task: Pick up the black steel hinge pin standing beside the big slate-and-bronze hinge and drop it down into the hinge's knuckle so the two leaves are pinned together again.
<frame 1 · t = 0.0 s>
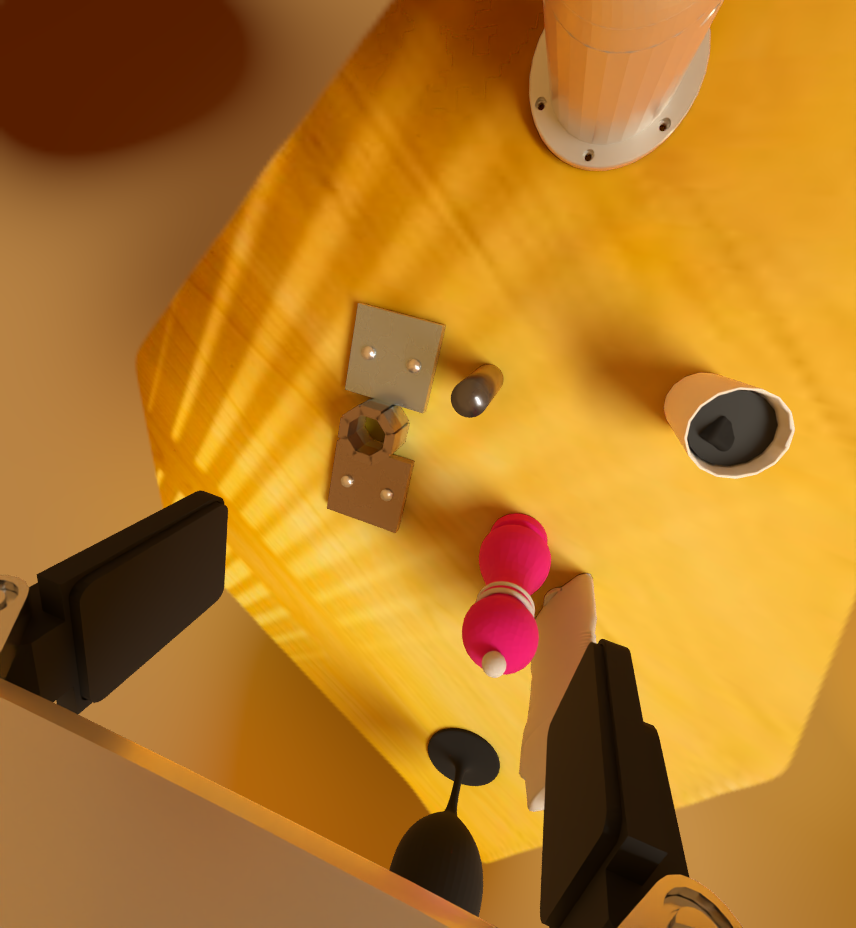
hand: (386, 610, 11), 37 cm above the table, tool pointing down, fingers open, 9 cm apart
wine glass: (463, 754, 64), on the table
beige upright panel: (562, 601, 51), on the table
paper coffee cup: (698, 404, 41), on the table
hinge: (382, 424, 50), on the table
hinge pin: (488, 379, 45), on the table
pepper mill: (518, 537, 50), on the table
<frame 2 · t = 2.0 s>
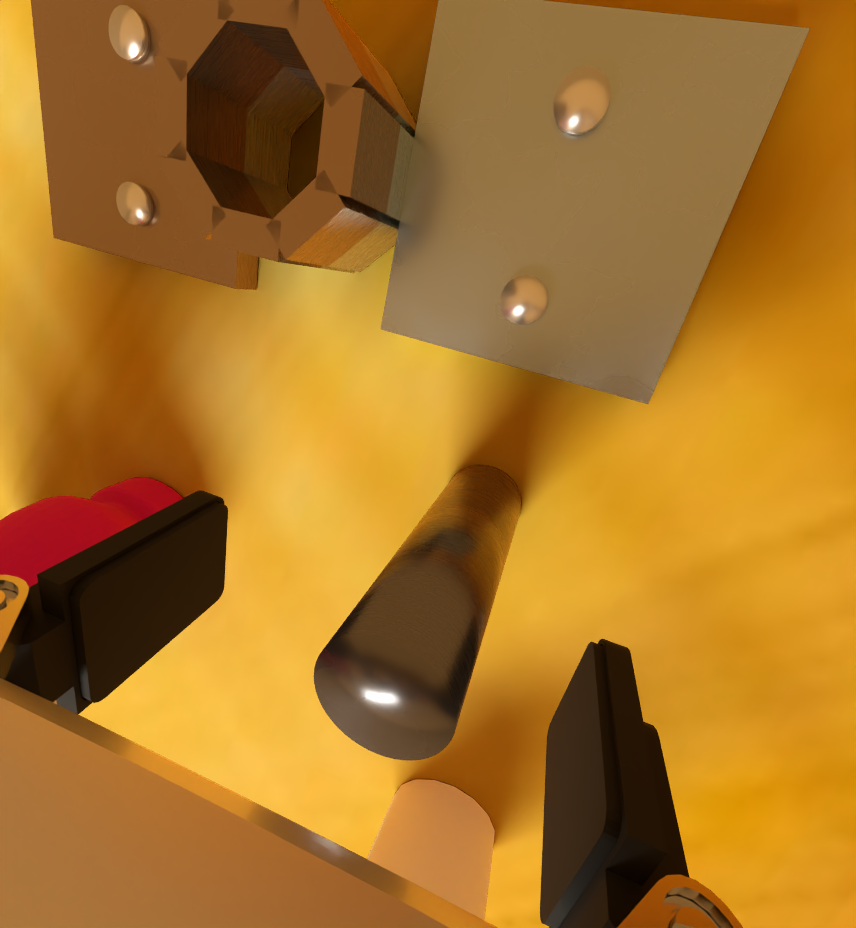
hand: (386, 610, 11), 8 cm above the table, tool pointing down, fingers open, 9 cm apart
paper coffee cup: (443, 816, 25), on the table
hinge: (339, 173, 15), on the table
hinge pin: (482, 500, 18), on the table
pepper mill: (163, 528, 24), on the table
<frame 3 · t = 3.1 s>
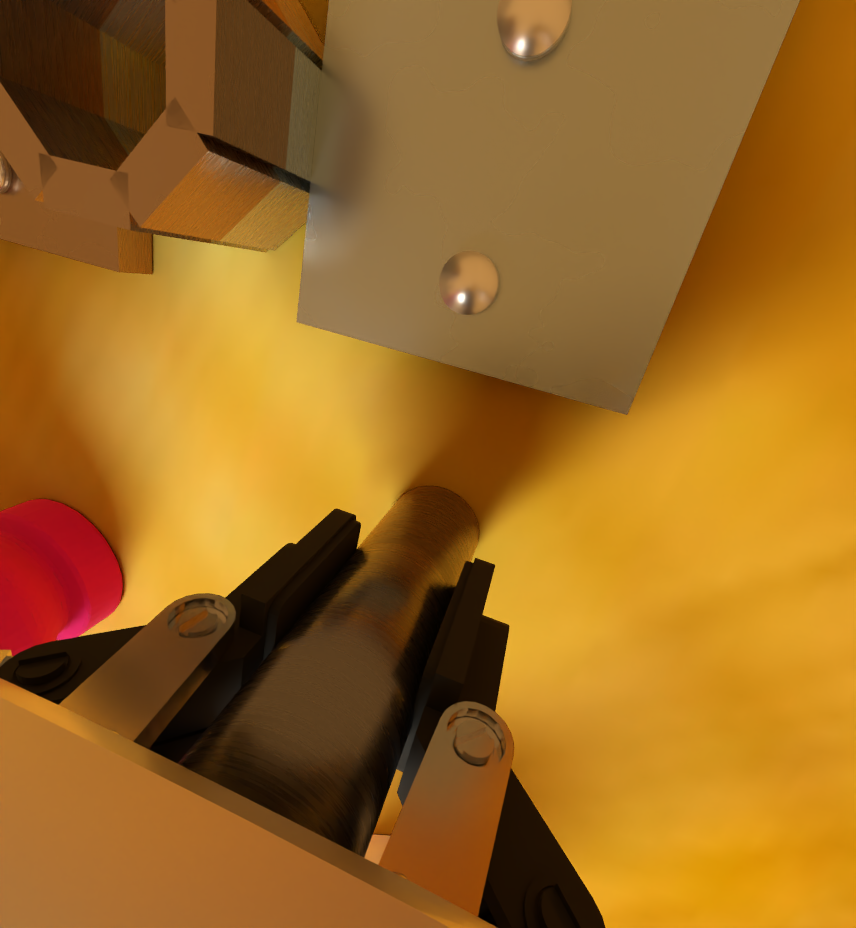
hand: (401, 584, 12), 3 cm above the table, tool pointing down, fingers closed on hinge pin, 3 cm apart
paper coffee cup: (405, 872, 22), on the table
hinge: (239, 124, 12), on the table
hinge pin: (433, 528, 15), on the table, touching gripper
pepper mill: (74, 557, 21), on the table
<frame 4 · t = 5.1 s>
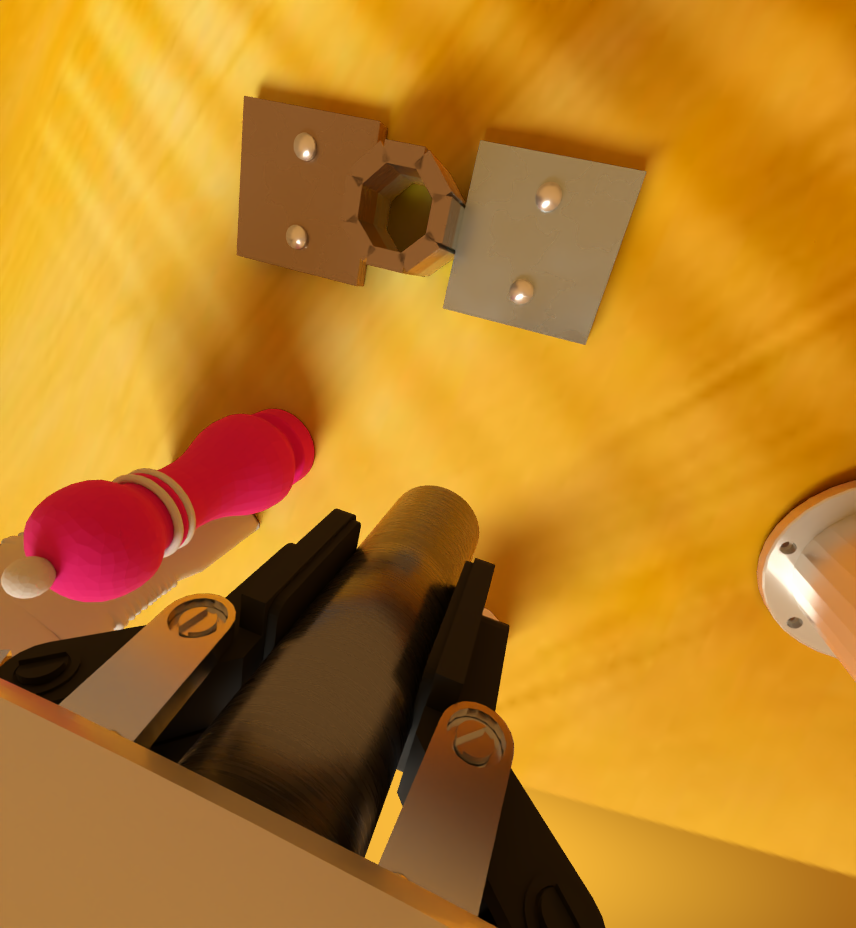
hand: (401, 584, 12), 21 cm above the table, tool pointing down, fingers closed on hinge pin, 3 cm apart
beige upright panel: (216, 496, 41), on the table
hinge: (418, 222, 28), on the table
hinge pin: (433, 527, 15), point 18 cm above the table, touching gripper
pepper mill: (282, 445, 37), on the table
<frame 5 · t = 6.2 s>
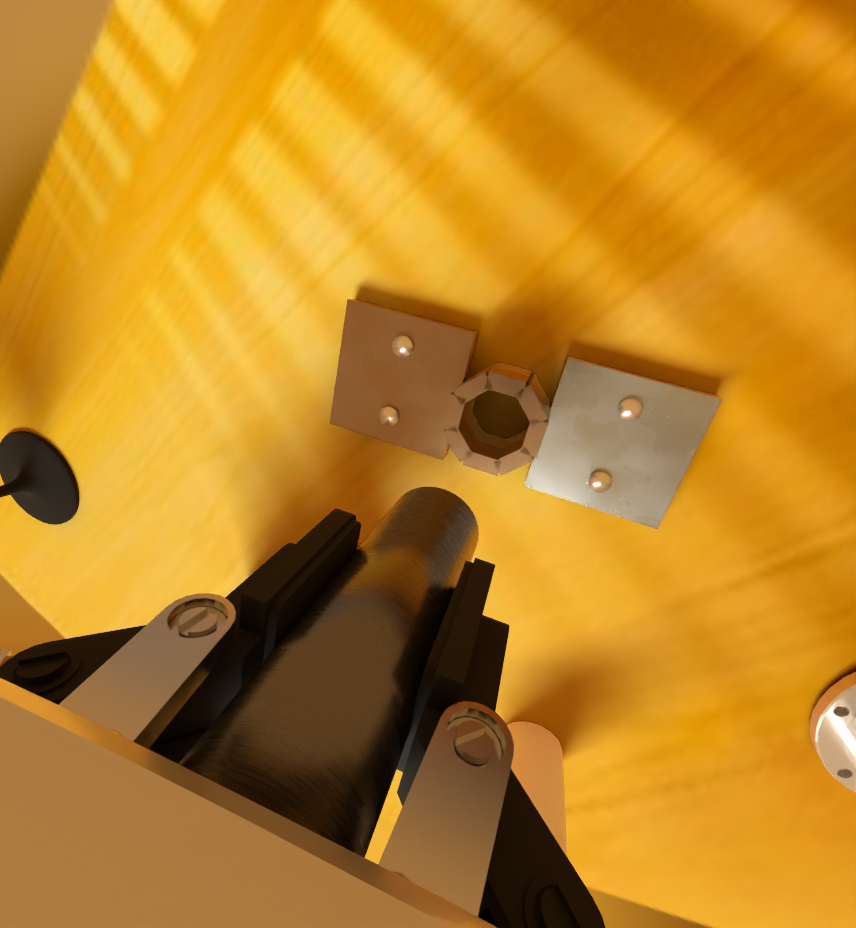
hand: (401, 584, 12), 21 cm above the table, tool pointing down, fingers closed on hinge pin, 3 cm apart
wine glass: (41, 477, 47), on the table
paper coffee cup: (529, 744, 41), on the table
hinge: (502, 408, 31), on the table
hinge pin: (433, 529, 15), point 18 cm above the table, touching gripper
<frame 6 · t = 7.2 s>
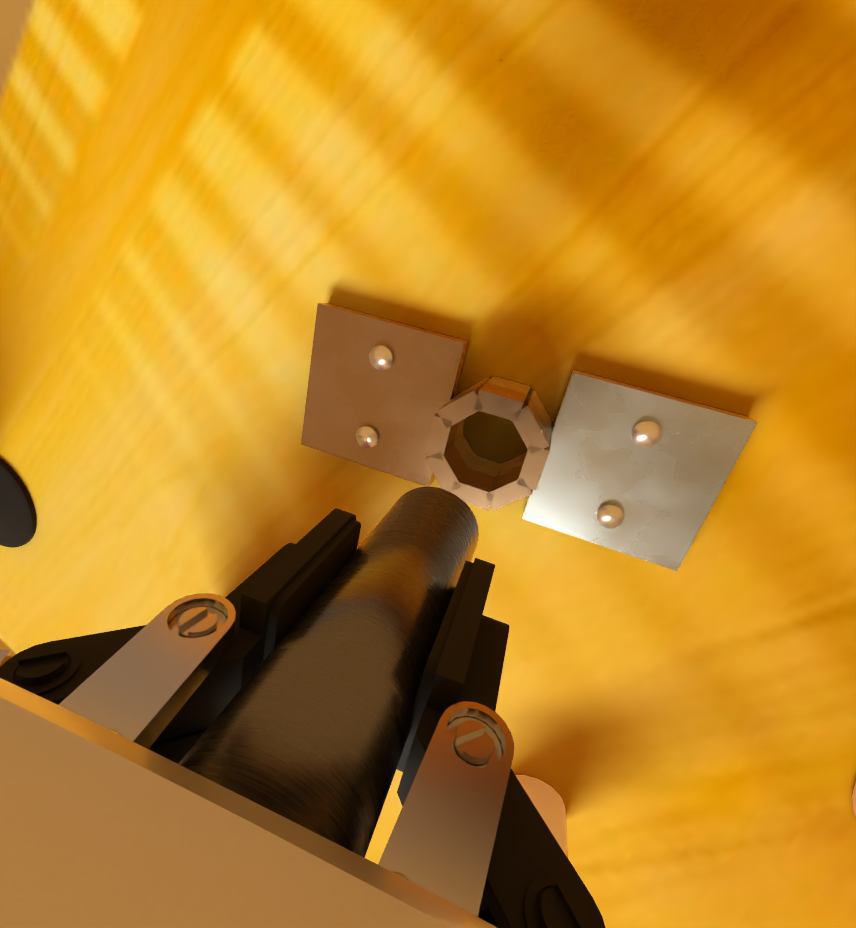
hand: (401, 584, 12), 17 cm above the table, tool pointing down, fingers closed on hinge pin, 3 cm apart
paper coffee cup: (528, 799, 36), on the table
hinge: (497, 429, 27), on the table
hinge pin: (433, 529, 15), point 13 cm above the table, touching gripper
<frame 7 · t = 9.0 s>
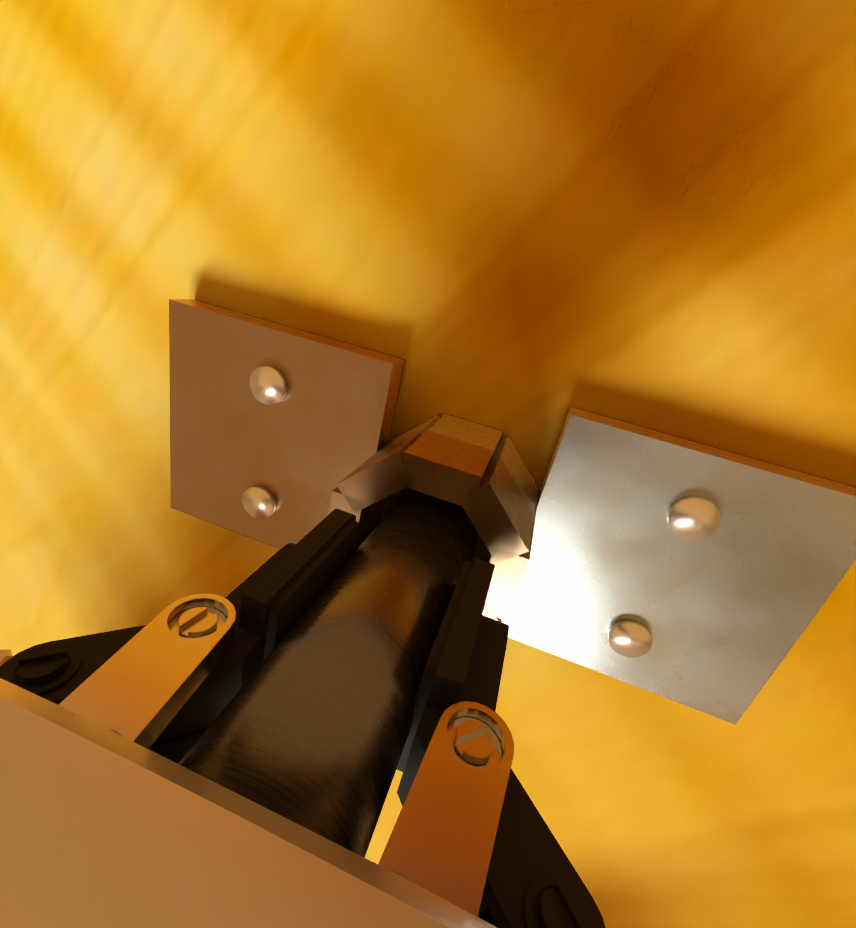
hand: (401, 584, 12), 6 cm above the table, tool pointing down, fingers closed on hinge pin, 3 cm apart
hinge: (453, 494, 17), on the table
hinge pin: (433, 528, 15), point 3 cm above the table, touching gripper
when the fingers open (6 cm above the table, at t = 9.2 s): hinge pin drops 3 cm, resting in hinge.
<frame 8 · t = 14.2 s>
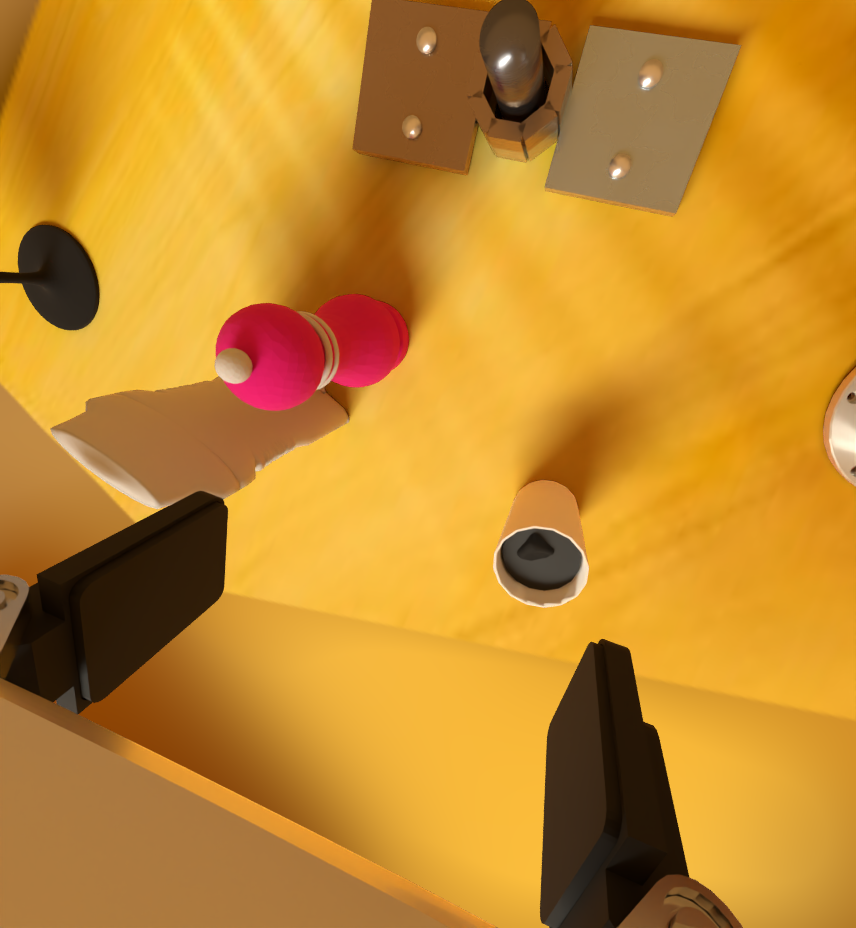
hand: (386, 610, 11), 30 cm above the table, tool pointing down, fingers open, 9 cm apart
wine glass: (62, 279, 48), on the table
beige upright panel: (308, 393, 44), on the table
paper coffee cup: (545, 508, 41), on the table
hinge: (523, 110, 32), on the table
hinge pin: (524, 111, 32), resting in hinge
pepper mill: (377, 337, 40), on the table
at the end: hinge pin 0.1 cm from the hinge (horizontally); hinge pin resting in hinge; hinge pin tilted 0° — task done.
